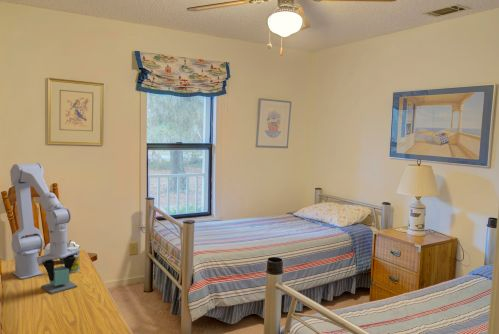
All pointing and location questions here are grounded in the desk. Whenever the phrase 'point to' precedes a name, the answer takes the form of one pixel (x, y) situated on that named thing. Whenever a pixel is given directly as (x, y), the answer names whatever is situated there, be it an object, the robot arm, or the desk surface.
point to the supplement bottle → (76, 263)
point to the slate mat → (58, 287)
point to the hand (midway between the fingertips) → (59, 278)
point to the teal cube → (60, 276)
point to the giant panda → (70, 244)
